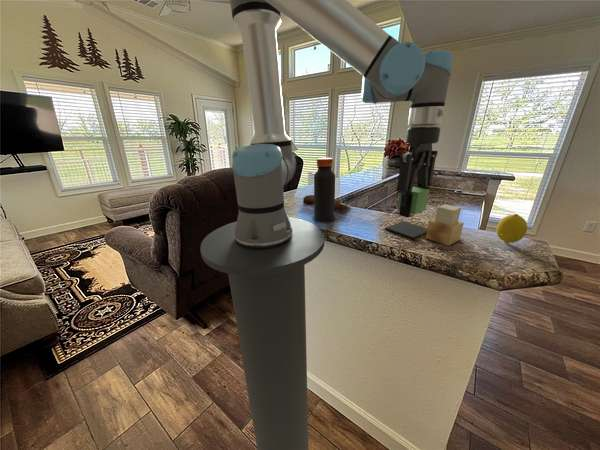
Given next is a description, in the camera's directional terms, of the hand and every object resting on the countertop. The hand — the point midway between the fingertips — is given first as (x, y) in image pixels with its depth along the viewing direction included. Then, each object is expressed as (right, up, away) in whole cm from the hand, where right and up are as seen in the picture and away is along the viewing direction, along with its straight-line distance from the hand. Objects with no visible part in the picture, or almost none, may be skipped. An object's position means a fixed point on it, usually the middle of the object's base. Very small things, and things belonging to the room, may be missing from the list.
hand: (410, 213), depth 68 cm
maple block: (+7, -7, -4) cm, 11 cm away
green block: (0, +1, 0) cm, 1 cm away
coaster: (0, -5, +2) cm, 5 cm away
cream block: (+7, -2, -6) cm, 9 cm away
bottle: (-24, -1, +13) cm, 27 cm away
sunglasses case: (-21, +4, +26) cm, 34 cm away
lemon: (+21, -8, -7) cm, 24 cm away
